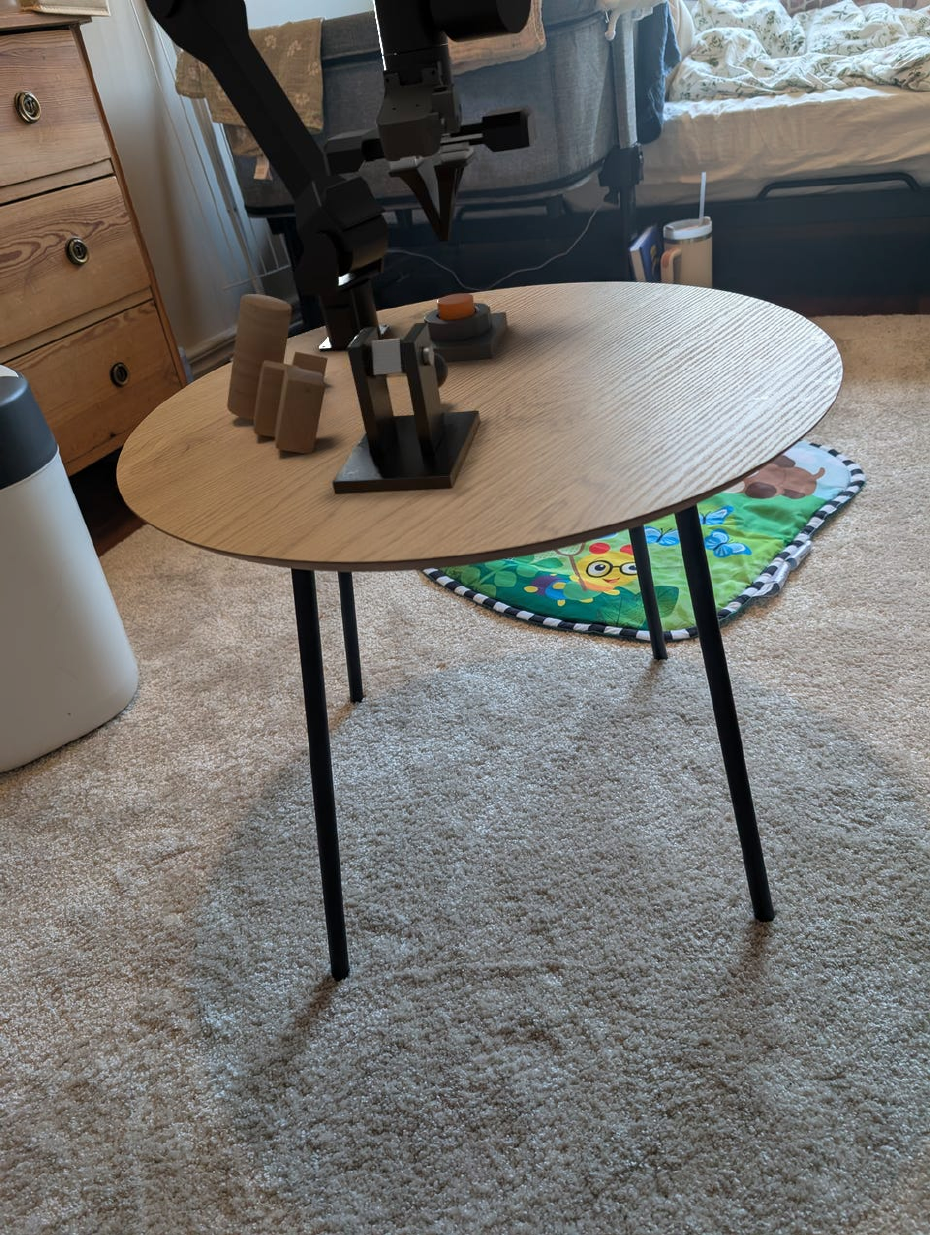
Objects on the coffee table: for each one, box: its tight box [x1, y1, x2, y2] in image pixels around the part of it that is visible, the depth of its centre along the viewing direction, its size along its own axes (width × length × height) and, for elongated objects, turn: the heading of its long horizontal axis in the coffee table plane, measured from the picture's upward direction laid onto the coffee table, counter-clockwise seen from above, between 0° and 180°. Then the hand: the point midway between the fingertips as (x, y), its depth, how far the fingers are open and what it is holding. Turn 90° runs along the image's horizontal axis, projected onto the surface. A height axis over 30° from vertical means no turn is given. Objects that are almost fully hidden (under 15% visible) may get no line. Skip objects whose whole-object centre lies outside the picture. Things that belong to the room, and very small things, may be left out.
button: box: [436, 292, 475, 320], centre depth 89 cm, size 4×4×2 cm
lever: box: [371, 338, 449, 389], centre depth 71 cm, size 13×3×3 cm, turn 169°
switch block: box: [423, 302, 509, 364], centre depth 90 cm, size 10×8×4 cm
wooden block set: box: [226, 293, 328, 455], centre depth 78 cm, size 18×9×10 cm, turn 11°
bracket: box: [331, 321, 481, 495], centre depth 68 cm, size 12×9×10 cm
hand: (444, 241), depth 85 cm, fingers closed
